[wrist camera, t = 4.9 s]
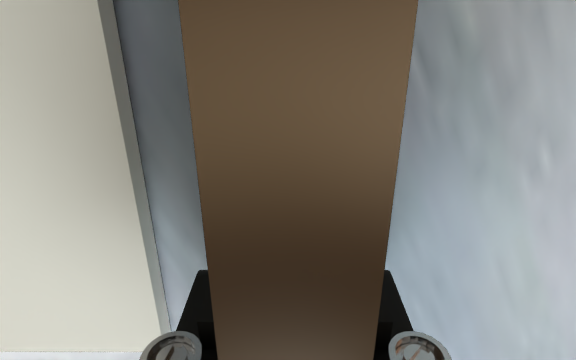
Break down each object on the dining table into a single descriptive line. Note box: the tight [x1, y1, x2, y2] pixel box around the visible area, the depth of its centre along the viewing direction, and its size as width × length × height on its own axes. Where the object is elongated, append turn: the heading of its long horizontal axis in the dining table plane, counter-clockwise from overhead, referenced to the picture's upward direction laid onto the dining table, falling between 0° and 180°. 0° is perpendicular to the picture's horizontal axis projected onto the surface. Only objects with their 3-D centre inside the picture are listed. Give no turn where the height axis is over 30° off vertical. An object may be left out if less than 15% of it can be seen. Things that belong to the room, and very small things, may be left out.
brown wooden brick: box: [178, 0, 418, 360], centre depth 9 cm, size 19×7×5 cm, turn 0°
